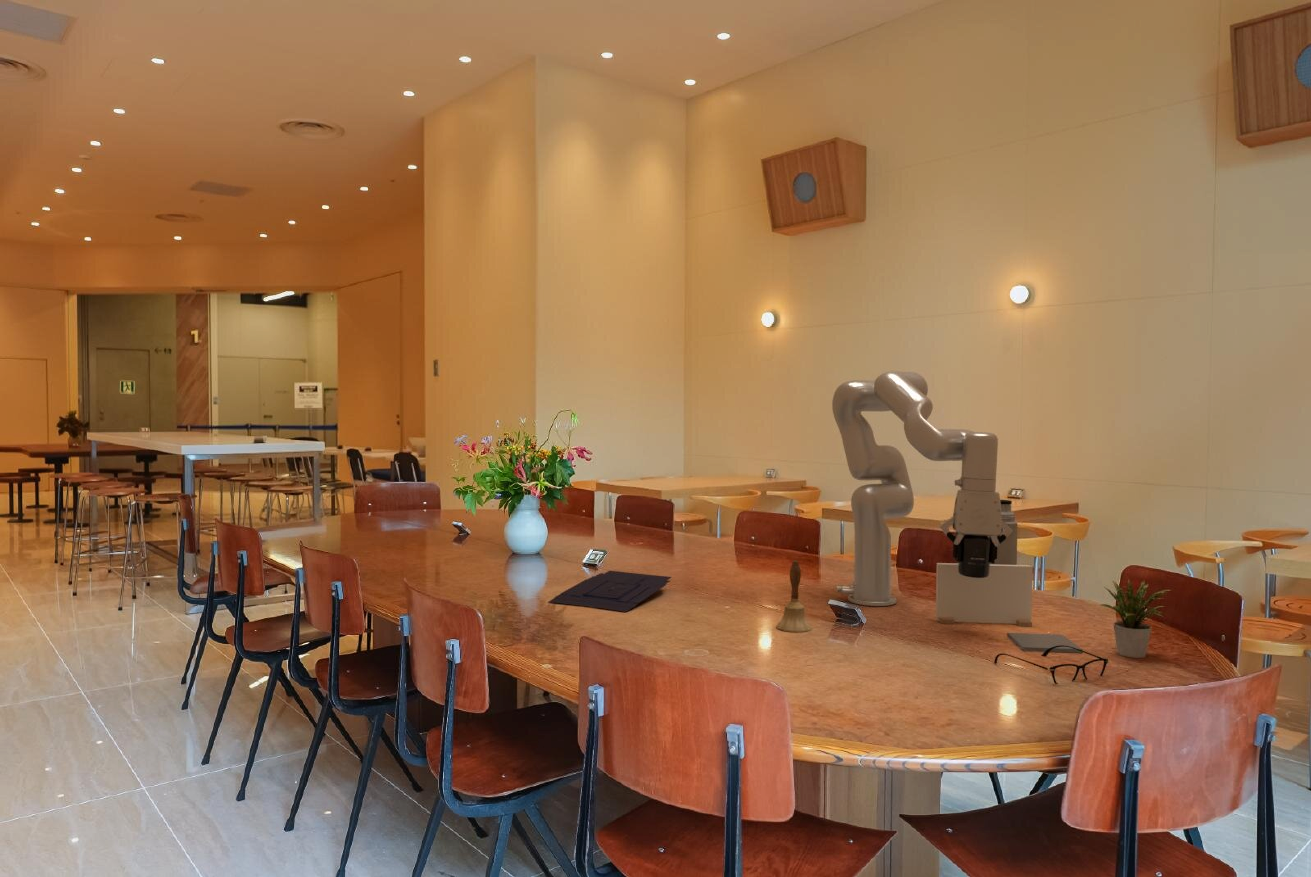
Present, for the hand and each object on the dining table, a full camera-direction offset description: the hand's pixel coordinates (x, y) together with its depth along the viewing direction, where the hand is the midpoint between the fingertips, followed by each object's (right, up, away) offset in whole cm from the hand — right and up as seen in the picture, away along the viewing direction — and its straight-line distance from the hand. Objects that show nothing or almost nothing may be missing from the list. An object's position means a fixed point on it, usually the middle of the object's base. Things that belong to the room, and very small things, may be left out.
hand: (974, 561), depth 198 cm
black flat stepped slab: (-86, -15, +36) cm, 94 cm away
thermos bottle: (+17, -16, +27) cm, 35 cm away
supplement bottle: (0, -4, 0) cm, 4 cm away
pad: (+11, -17, -11) cm, 23 cm away
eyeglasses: (+4, -18, -29) cm, 34 cm away
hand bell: (-42, -16, +3) cm, 45 cm away
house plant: (+26, -17, -20) cm, 37 cm away
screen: (+6, -16, +9) cm, 19 cm away
